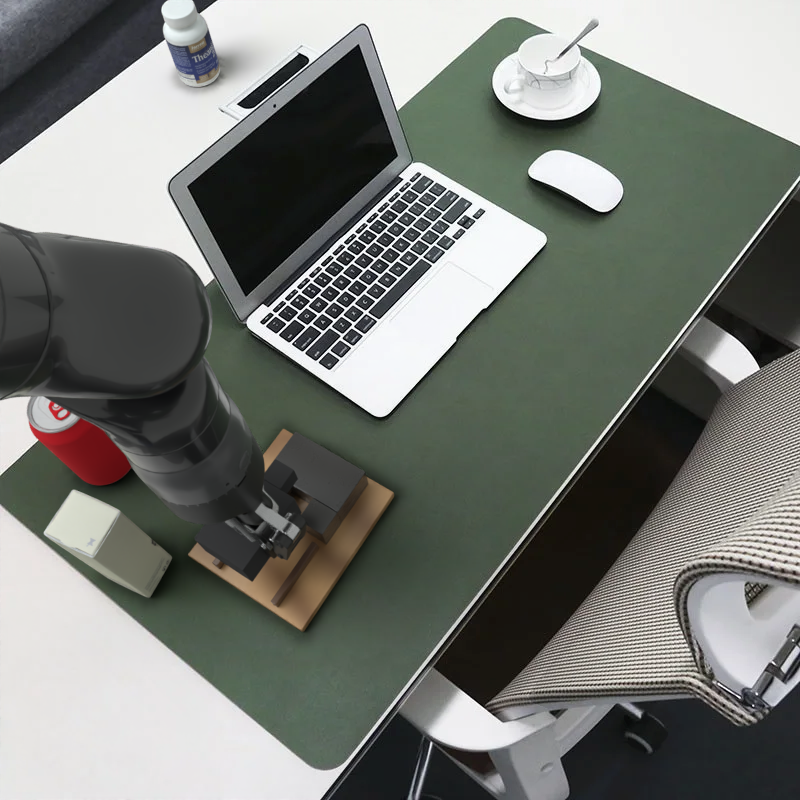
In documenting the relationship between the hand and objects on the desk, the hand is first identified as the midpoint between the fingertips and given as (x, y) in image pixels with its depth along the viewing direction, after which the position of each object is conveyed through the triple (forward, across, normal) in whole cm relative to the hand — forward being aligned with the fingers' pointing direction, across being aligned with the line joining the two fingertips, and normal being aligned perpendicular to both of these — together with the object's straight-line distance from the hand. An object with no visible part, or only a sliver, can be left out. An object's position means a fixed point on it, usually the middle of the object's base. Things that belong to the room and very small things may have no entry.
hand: (252, 529), depth 70 cm
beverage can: (+8, -20, -1) cm, 22 cm away
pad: (+1, 0, 0) cm, 1 cm away
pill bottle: (+9, -46, +46) cm, 66 cm away
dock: (+8, 0, +3) cm, 9 cm away
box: (+8, -10, -7) cm, 15 cm away
